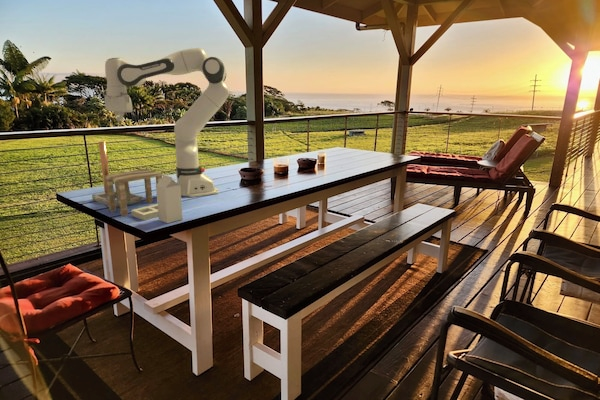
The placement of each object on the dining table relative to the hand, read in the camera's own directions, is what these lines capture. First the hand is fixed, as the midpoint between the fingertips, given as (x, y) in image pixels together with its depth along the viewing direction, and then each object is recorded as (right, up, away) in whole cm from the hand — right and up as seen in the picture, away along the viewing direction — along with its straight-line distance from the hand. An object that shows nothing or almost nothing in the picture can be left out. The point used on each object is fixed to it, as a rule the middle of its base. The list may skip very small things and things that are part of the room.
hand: (120, 120), depth 196 cm
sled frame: (+2, -41, -8) cm, 41 cm away
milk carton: (+37, -49, -33) cm, 69 cm away
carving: (+7, -42, -11) cm, 44 cm away
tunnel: (+17, -44, -19) cm, 51 cm away
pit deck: (+26, -47, -26) cm, 59 cm away
